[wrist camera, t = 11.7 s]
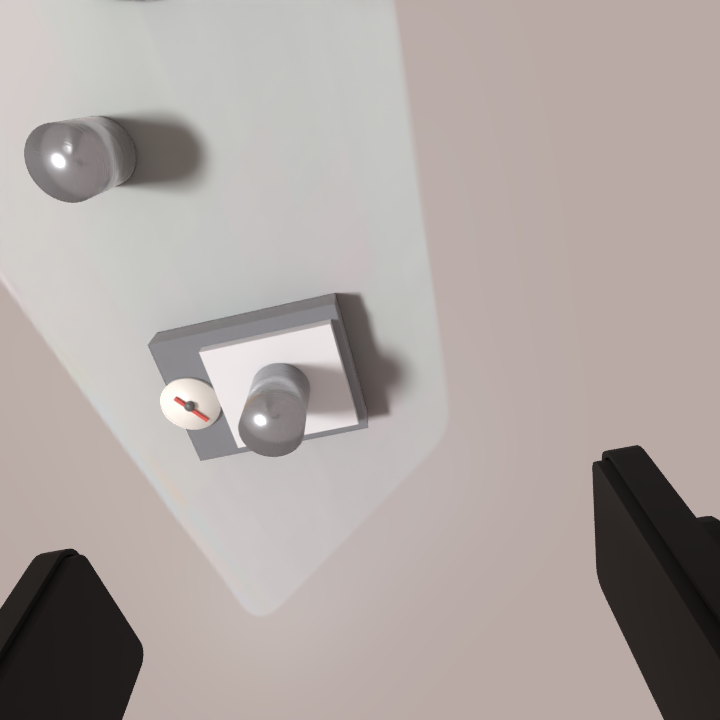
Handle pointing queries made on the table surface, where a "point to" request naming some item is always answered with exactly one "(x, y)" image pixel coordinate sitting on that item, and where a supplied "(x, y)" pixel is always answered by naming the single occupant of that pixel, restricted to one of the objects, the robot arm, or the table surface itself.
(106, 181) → the cylinder
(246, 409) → the cylinder
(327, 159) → the table surface
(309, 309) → the scale
